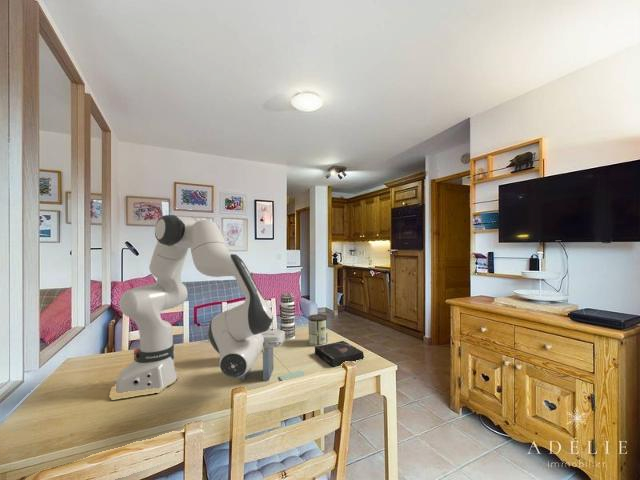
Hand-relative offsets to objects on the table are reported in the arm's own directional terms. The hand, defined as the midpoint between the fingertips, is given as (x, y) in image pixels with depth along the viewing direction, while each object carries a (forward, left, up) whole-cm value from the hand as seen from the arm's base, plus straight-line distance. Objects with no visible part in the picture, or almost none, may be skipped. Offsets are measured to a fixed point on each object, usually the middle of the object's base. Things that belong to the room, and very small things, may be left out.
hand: (260, 330), depth 105 cm
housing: (+2, +13, -22) cm, 26 cm away
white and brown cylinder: (+30, +48, -22) cm, 61 cm away
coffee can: (+41, +32, -22) cm, 57 cm away
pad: (+14, +1, -22) cm, 26 cm away
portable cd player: (+41, +11, -23) cm, 48 cm away
